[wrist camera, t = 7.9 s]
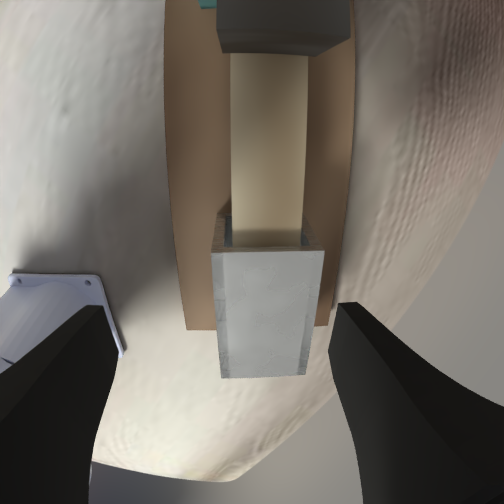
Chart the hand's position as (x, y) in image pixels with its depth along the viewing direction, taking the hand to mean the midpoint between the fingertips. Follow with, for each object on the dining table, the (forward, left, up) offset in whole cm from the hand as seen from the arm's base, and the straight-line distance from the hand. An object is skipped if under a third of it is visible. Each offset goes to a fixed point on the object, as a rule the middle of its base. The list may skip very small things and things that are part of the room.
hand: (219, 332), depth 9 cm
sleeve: (+2, -4, -9) cm, 10 cm away
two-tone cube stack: (+2, +7, -8) cm, 11 cm away
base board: (+2, +3, -10) cm, 11 cm away
